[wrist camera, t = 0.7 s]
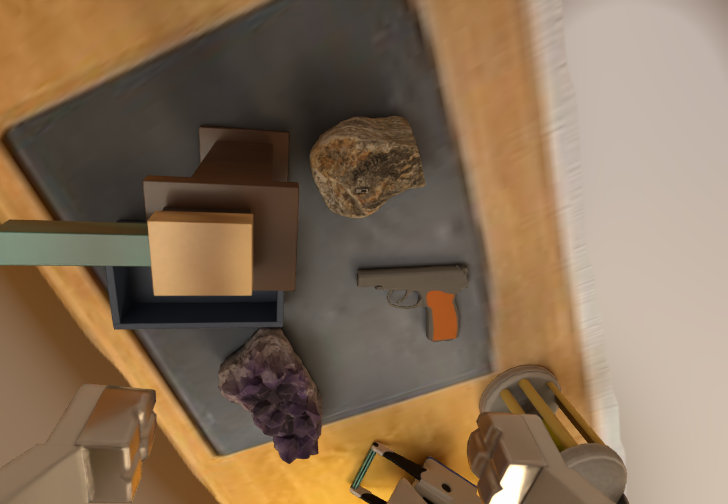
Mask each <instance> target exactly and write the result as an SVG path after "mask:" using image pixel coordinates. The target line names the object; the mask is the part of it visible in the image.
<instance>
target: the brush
mask: <svg viewBox="0 0 728 504" xmlns="http://www.w3.org/2000/svg"><path fill="white" fill-rule="evenodd" d="M0 265H45V266H141V267H151V268H152V279H153V289H154V296H251V295H252V289H253V214H251V210H244V209H215V208H187V207H164V208H163V209H162V210H161V211H155V212H154V213H153V214H152V216H151V217H150V218H149V220H148V221H147V223H115V222H79V221H43V220H8V221H7V222H5V223H3V224H2V225H0Z"/></svg>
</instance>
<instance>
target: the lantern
mask: <svg viewBox="0 0 728 504" xmlns="http://www.w3.org/2000/svg"><path fill="white" fill-rule="evenodd" d="M558 407H559V408H560V409H561V410H562V411H563V413H564V414H565V415H566V416H567V418H568V419H569V420H570V421H571V423H572V424H573V425H574V426H575V428H576V429H577V430H578V431H579V432H580V434H581V435H582V436H583V437H584V439H585V440H586V441H587V442H588V443H586V444H580V445H578V444H577V443H576V441H575V440H574V439H573V438H572V436H571V435H570V434H569V432H568V431H567V430H566V429H565V427H564V426H563V425H562V423H561V422H560V421H559V420H558V418H557V417H556V416H555V413H556V411H557V410H558ZM479 409H480V414H481V413H482V412H500V413H516V414H532V415H537V416H539V417H540V418H541V420H542V422H543V424H544V425H545V427H546V429H547V431H548V433H549V434H550V436H551V438H552V440H553V442H554V444H555V445H556V447H557V449H558V451H559V453H560V454H561V456H562V458H563V460H564V462H565V464H566V465H567V467H568V468H571V469H574V470H576V471H577V472H578V473H579V474H580V475H582V476H583V477H584V478H585V479H586V480H588V481H589V482H590V483H591V484H592V485H594V486H595V487H596V488H597V489H599V490H600V491H601V492H602V493H603V494H605V495H606V496H607V497H608V498H609V499H611V500H612V501H613V502H614V503H616V504H629V502H628V500H627V498H626V496H625V495H624V493H623V492H624V490H625V485H626V482H627V471H626V468H625V466H624V463H623V461H622V459H621V458H620V457H619V455H618V454H617V453H616V452H615V451H614V450H612V449H611V448H610V447H609V446H607V445H605V444H604V443H603V441H602V440H601V439H600V438H599V437H598V435H597V434H596V433H595V432H594V431H593V430H592V428H591V427H590V426H589V425H588V424H587V422H586V421H585V420H584V419H583V418H582V417H581V415H580V414H579V413H578V412H577V411H576V409H575V408H574V407H573V406H572V405H571V404H570V402H569V401H568V400H567V399H566V398H565V396H564V395H563V394H562V393H561V387H560V385H559V383H558V381H557V379H556V378H555V377H554V375H553V374H551V373H550V372H549V371H548V370H547V369H545V368H543V367H539V366H536V365H522V366H518V367H515V368H511V369H509V370H507V371H505V372H504V373H502V374H500V375H498V376H497V377H496V378H495V379H494V380H493V381H492V382H491V383H490V384H489V385H488V386H487V388H486V389H485V391H484V392H483V394H482V397H481V400H480V404H479Z"/></svg>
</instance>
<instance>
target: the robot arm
mask: <svg viewBox="0 0 728 504" xmlns="http://www.w3.org/2000/svg"><path fill="white" fill-rule="evenodd" d="M155 403H156V393H155V390H152V389H141V388H130V387H119V386H104V385H93V384H84V385H83V386H81V388H79V389H78V391H77V392H76V394H75V395H74V397H73V399H72V400H71V402H70V404H69V405H68V407H67V409H66V410H65V412H64V414H63V415H62V417H61V418H60V420H59V422H58V423H57V425H56V427H55V429H54V430H53V432H52V434H51V435H50V437H49V438H48V440H47V441H46V443H45V444H37V445H35V446H34V447H32V448H30V449H29V450H27V451H26V452H24V453H23V454H21V455H20V456H18V457H17V458H15V459H13V460H12V461H10V462H9V463H7V464H6V465H4V466H3V467H1V468H0V504H89V503H118V502H119V503H125V502H126V503H131V502H132V500H133V497H134V494H135V492H136V489H137V486H138V483H139V481H140V478H141V475H142V466H141V462H142V461H143V460H145V459H146V458H147V457H148V456H149V453H150V450H151V447H152V444H153V440H154V436H155V430H156V414H155V413H154V412H153V411H152V410H153V408H154V405H155ZM476 422H477V424H478V427H479V428H478V429H476V430H475V431H474V432H472V433H471V435H470V437H469V440H468V444H467V457H468V462H469V466H470V469H471V471H472V472H473V473H474V474H475V475H476V476H477V477H478V478H479V481H478V484H477V490H478V493H479V496H480V499H481V501H482V504H616V503H614V502H613V501H612V500H611V499H609V498H608V497H607V496H606V495H605V494H603V493H602V492H601V491H600V490H599V489H597V488H596V487H595V486H594V485H592V484H591V483H590V482H589V481H588V480H586V479H585V478H584V477H583V476H582V475H580V474H579V473H578V472H577V471H576V470H574V469H571V468H568V467H567V465H566V464H565V462H564V460H563V458H562V456H561V454H560V453H559V451H558V449H557V447H556V445H555V444H554V442H553V440H552V438H551V436H550V434H549V433H548V431H547V429H546V427H545V425H544V424H543V422H542V420H541V418H540V417H539V416H537V415H532V414H516V413H500V412H482V413H481V414H480V415H479V417H478V419H477V421H476Z"/></svg>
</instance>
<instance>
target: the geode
mask: <svg viewBox="0 0 728 504" xmlns="http://www.w3.org/2000/svg"><path fill="white" fill-rule="evenodd" d="M219 379H220V383H219V386H218V388H219V389H220V391H221V394H222V395H223V396H224V397H226V398H227V399H228V400H230V401H231V402H237V403H239V404H241V405H242V406H243V408H244V409H245V410H247V411H249V412H251V414H252V416H253V420H254V423H255V425H256V426H257V427H258V428H260V429H261V430H262V431H263V433H264V434H265V435H269V436H273V442H274V448H275V449H276V450H277V451H278V452H279V455H280V458H281V459H282V460H283V461H285V462H287V463H288V464H290V463H292V462H293V461H294V460H295V459H296V458H299V459H308V458H309V457H310V455H316V454H318V439H319V436H320V435H321V428H322V416H323V413H322V410H321V409H322V397H321V395H320V393H319V391H318V388H317V387H316V385H315V383H314V382H313V381H312V379H311V377H310V375H309V373H308V371H307V369H306V368H305V367H304V365H302V361H301V359H300V358H299V357H298V355H296V354H295V353H294V350H293V347H292V346H291V344H290V342H289V341H288V339H287V338H286V337H285V336H284V334H283V332H282V330H281V329H279V328H276V329H274V328H271V327H260V329H259V330H258V331H257V332H256V333H255V334H254V335H253V336H252V337H251V338H250V340H249V341H248V342H247V343H246V344H245V346H244V347H243V348H241V349H240V350H238V351H237V352H236V353H234V354H233V355H231V356H229V357H228V358H227V359H226V360H225V361H224V362H223V363H221V365H220V370H219Z"/></svg>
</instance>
